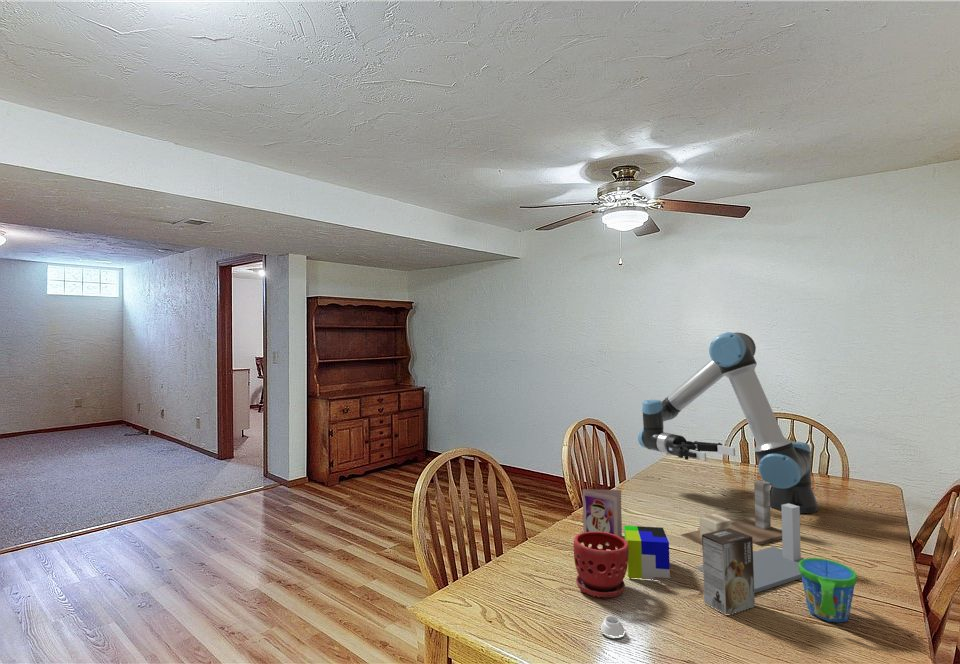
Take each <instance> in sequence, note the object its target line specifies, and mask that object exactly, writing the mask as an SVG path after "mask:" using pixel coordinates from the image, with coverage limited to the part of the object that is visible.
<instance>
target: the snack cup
mask: <svg viewBox="0 0 960 664" xmlns="http://www.w3.org/2000/svg"><path fill="white" fill-rule="evenodd" d="M799 571H800V573H801V575H802V578H801V581H802V585H803V592H804V597H805V604H806V607H807V609H808V611H809V613H810V614H811V615H813V616H816V617H817V618H819V619H821V620H824V621H827V622H831V623H832V622H833V623H843V622H844V623H846V622H848V620H849V618H850V614H851V609H852V603H853V599H854V598H853V597H854V590H855V585H856V584H857V581H858V576H857V573H856V572H855V570H854V569H852V568H851V567H849V566H848V565H845V564H843V563H841V562H838V561H834V560H830V559H825V558H819V557H818V558H816V557H809V558H807V557H806V558H804V559H803V560H801V561H800V562H799Z"/></svg>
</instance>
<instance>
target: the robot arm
mask: <svg viewBox="0 0 960 664" xmlns="http://www.w3.org/2000/svg"><path fill="white" fill-rule="evenodd" d="M708 348H709V349H708V352H709V354H708V355H709V357H710V358H711V359H710V360H709V361H708V362H707V363H706V364H704V365H703V366H702V367H701V368H700V369H698V370H697V371H696V372H695V373H693V375H692V376H690V377H688V379H687V380H685V381H684V382H683V383H682V384H681V385H679V386H678V387H677V388H676V389H675V390H674V391H672V392H671V393H670V394H668V396H667V397H665V398H664V399H663V400H660V399H645V400H643V402H642V407H641V408H642V410H641V411H642V424H643V425H642V426H643V429H641V430H640V431H639V433H638V435H637V441H638V444H639V445H640V446H641V447H643V448H645V449H648V450H652V451H656V452H661V453H664V454H666V455H673V456H677V457H678V458H680V459H683V458H684V460H687V461H688V460H690V459H693V460H697V461H702V462H707V453H706V452H708V453H711V452H714V453H717V454H723V455H726V456H730V457H735V456H736V448H735V447H732V446H726V445H723V443H721V442H718V443H716V442H705V441H698V440H697V441H696V440H695V441H691V440H687V439H686V438H685V437H684V436H682V435H679V434H675V433H670V432H664V422H667V421H670V420H673V419H675V418H676V417H677V416H679V413H680V412H682V411H683V410H684V409H685V408H686V407H688V406H689V405H690V404H691V403H692V402H694V401H695V400H696V399H698V397H700V396H702V395H703V394H704V393H705V392H706V391H707V390H709V388H711V387H712V386H714V385H715V384H716V383H718V381H720V380H721V379H722V378H723V377H726V378H728V379H729V382H730V384H731V386H732V389H733V392H734V394H735V395H736V398H737V401H738V403H739V406H740V408H741V410H742V412H743V415H744V417H745V421H747V425H748V426H749V429H750V431H751V434H752V436H753V438H754V440H755V443H756V446H755V447H754V453H755V455H756V458H757V460H758V465H757V466H758V467H757V469H758V474H759V476H760V478H761V479H762V481H765V482H769V483H770V508H773V509H775V510H778V511H782V508H781V505H784V504H788V503H789V504H793V505H796V506H799V507H800V514H802V513H807V514H814V513H817V512H818V510H819V507H818V505H819V504H818V501H817V498H816V496H815V493H814V490H813V488H812V467H811V466H812V460H811V459H812V457H811V454H812V452H811V446H810V444H808V443H805V442H801V441H800V442H799V441H794V440H793V441H792V440H790V439H787V438H786V437H784V434H783V432H782V429H781V427H780V425H779V423H778V420H777V418H776V416H775V414H774V412H773V409H772V407H771V405H770V403H769V401H768V398H767V395H766V394H765V391H764V388H763V387H762V384H761V382H760V380H759V378H758V375H757V373H756V367H757V365H758V364H757V361H756V359H755V354H756V349H757V346H756V343H755V341H754V340H753V338H752V337H751V336H749V335H748V334H746V333H743V332H725V333H724V332H723V333H722V334H718V335H717V336H715V337H714V338H713V339H712V340H711V342H710V345H709V347H708ZM689 458H690V459H689ZM816 511H817V512H816Z"/></svg>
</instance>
